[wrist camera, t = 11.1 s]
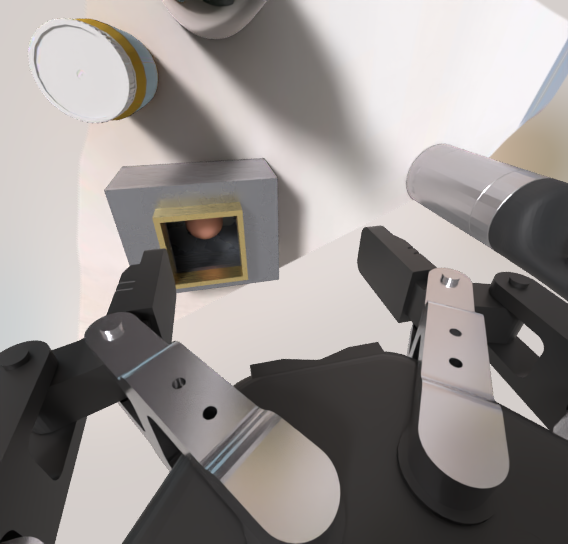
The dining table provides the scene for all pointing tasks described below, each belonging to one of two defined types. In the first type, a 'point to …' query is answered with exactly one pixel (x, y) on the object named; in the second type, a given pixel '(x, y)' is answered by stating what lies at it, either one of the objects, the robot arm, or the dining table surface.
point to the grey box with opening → (201, 205)
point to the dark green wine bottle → (214, 15)
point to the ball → (204, 227)
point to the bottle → (91, 69)
